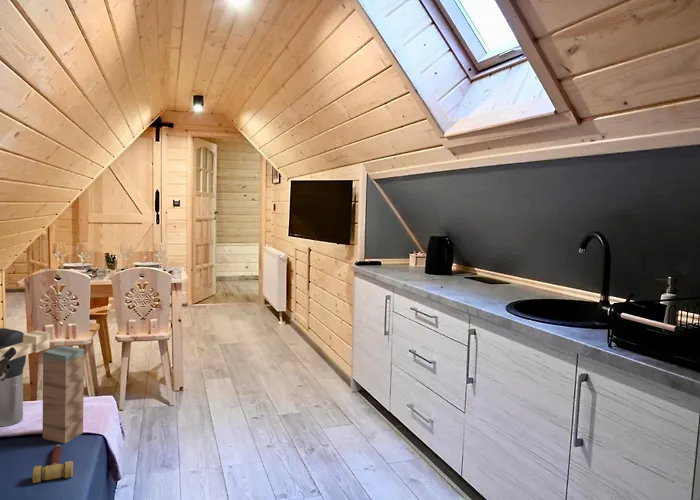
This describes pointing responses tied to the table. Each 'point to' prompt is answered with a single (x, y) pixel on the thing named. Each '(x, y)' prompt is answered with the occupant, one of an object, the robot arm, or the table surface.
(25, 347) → the maple key
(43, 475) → the gavel
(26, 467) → the table surface
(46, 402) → the teal-capped wooden post
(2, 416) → the robot arm
